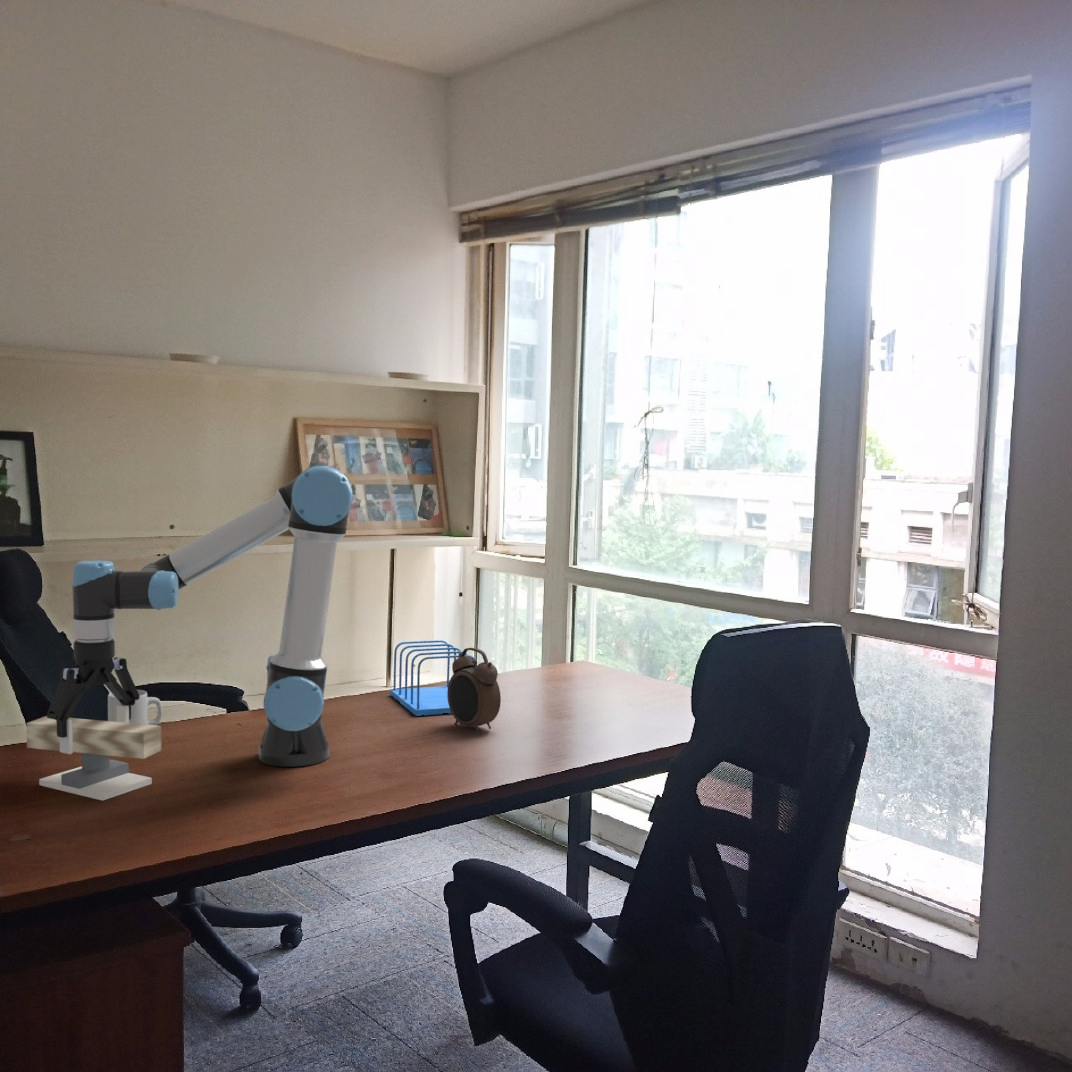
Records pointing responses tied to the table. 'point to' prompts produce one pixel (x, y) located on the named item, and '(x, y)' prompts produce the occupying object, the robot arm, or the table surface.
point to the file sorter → (419, 698)
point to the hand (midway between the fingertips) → (95, 744)
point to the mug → (136, 709)
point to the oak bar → (98, 737)
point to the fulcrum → (97, 778)
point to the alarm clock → (473, 691)
